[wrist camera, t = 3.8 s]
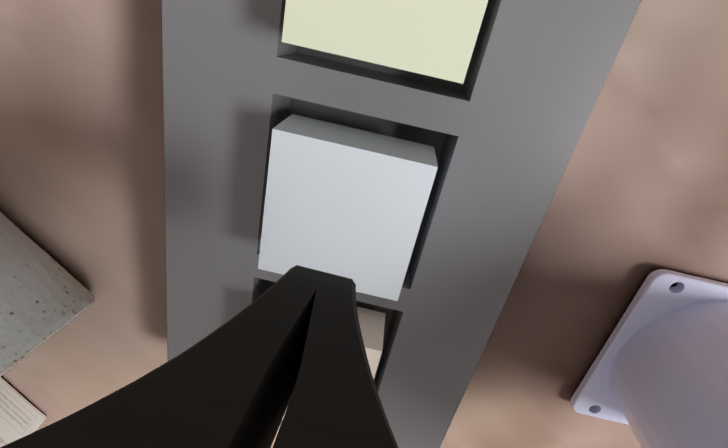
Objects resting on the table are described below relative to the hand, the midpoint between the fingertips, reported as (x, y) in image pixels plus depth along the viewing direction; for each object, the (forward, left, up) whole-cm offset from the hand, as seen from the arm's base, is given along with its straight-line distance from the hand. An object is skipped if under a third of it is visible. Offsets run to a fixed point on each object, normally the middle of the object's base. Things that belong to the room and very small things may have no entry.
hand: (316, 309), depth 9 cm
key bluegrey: (0, -1, -5) cm, 5 cm away
